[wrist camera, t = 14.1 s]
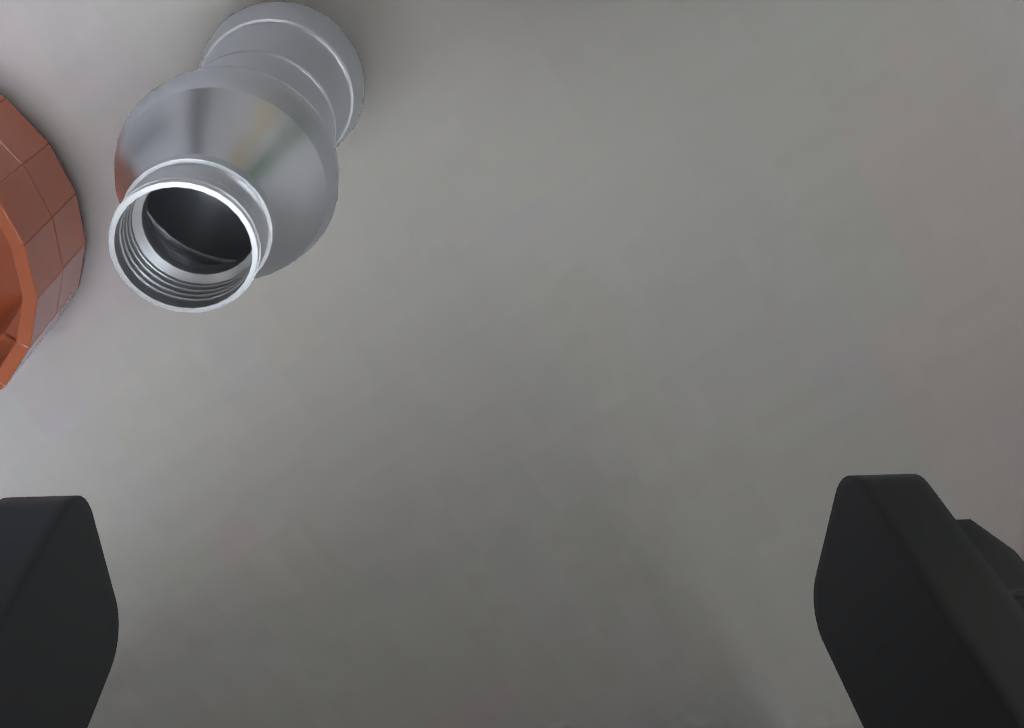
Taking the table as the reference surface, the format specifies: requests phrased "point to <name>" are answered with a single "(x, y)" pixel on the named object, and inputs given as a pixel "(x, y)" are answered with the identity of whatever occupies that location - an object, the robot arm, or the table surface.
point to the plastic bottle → (235, 158)
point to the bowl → (33, 239)
